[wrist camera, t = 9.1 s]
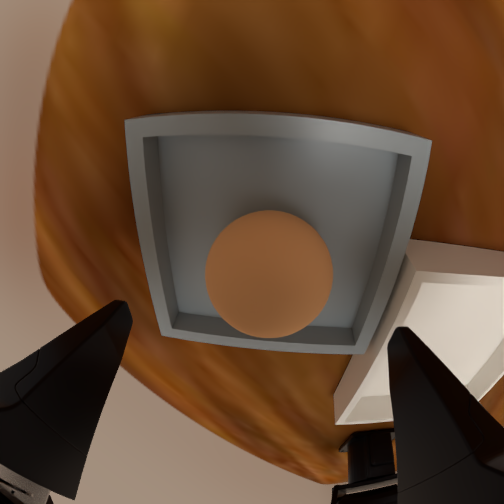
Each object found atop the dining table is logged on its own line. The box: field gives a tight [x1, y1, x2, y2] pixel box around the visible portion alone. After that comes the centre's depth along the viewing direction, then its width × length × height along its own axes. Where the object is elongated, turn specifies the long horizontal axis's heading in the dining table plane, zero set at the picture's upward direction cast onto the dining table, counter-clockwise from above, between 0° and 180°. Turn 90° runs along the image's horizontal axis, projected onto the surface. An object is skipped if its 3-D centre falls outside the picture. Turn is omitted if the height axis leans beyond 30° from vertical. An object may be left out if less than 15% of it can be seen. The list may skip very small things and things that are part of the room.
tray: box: [125, 111, 432, 354], centre depth 13 cm, size 12×12×2 cm
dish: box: [333, 239, 504, 425], centre depth 15 cm, size 15×15×3 cm
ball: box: [205, 210, 333, 338], centre depth 11 cm, size 5×5×5 cm
